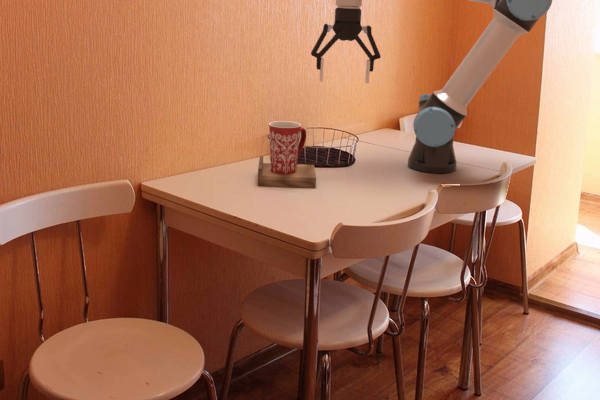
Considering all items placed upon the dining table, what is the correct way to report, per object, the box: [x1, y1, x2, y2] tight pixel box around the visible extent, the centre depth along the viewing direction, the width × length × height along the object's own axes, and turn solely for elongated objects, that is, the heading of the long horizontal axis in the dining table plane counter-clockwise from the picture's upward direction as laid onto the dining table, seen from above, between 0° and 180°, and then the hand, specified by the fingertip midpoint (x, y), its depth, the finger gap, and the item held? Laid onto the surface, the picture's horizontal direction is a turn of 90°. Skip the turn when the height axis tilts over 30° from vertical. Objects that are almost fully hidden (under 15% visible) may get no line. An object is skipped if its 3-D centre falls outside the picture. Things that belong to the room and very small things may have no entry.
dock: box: [257, 155, 317, 189], centre depth 200 cm, size 16×14×5 cm
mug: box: [268, 120, 307, 174], centre depth 198 cm, size 13×9×14 cm
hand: (344, 81), depth 207 cm, fingers open, 13 cm apart
